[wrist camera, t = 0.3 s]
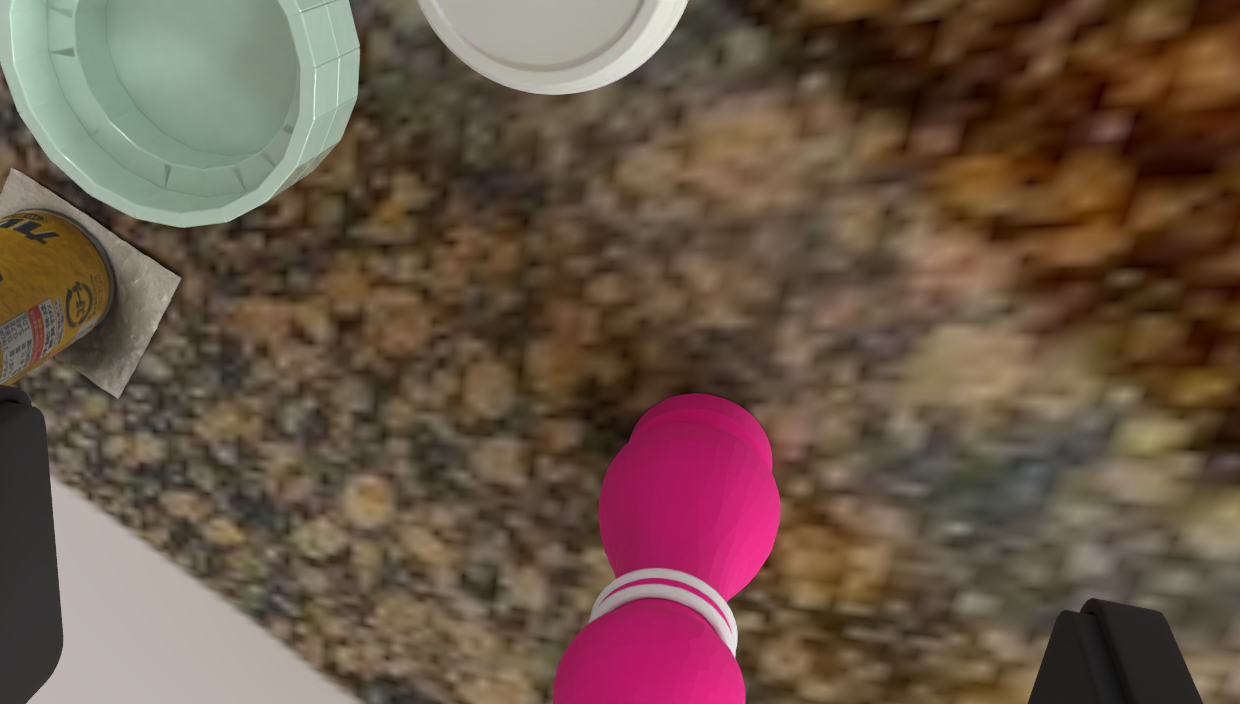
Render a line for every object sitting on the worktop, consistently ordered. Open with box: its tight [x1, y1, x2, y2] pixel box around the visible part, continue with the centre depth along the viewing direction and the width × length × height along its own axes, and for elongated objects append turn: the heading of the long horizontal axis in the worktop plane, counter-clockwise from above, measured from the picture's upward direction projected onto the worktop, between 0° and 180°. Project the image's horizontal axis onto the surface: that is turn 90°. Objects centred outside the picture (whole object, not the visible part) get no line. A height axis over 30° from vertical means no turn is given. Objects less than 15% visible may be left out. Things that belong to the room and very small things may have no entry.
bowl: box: [0, 0, 360, 228], centre depth 45 cm, size 12×12×5 cm
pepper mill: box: [553, 393, 780, 704], centre depth 42 cm, size 7×7×20 cm
